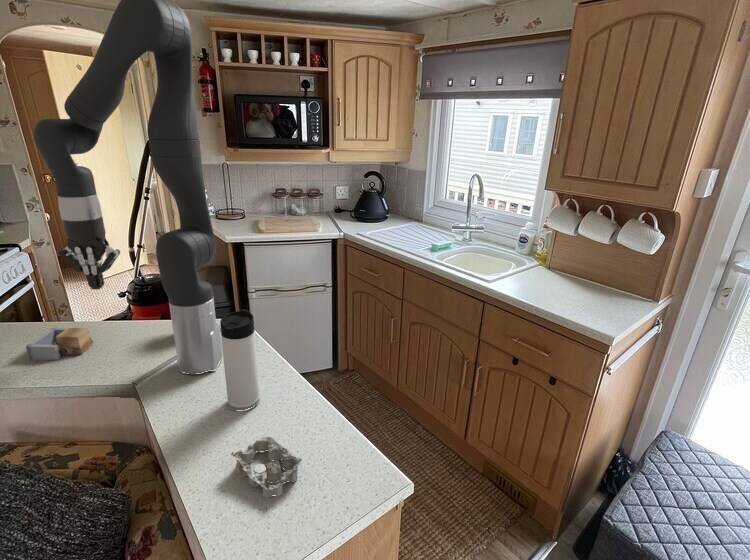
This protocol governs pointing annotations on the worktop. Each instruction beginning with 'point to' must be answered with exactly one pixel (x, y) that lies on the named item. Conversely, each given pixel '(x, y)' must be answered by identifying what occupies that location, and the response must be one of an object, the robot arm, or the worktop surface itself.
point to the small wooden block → (74, 341)
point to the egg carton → (268, 465)
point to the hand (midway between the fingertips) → (97, 288)
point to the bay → (45, 346)
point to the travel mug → (240, 359)
